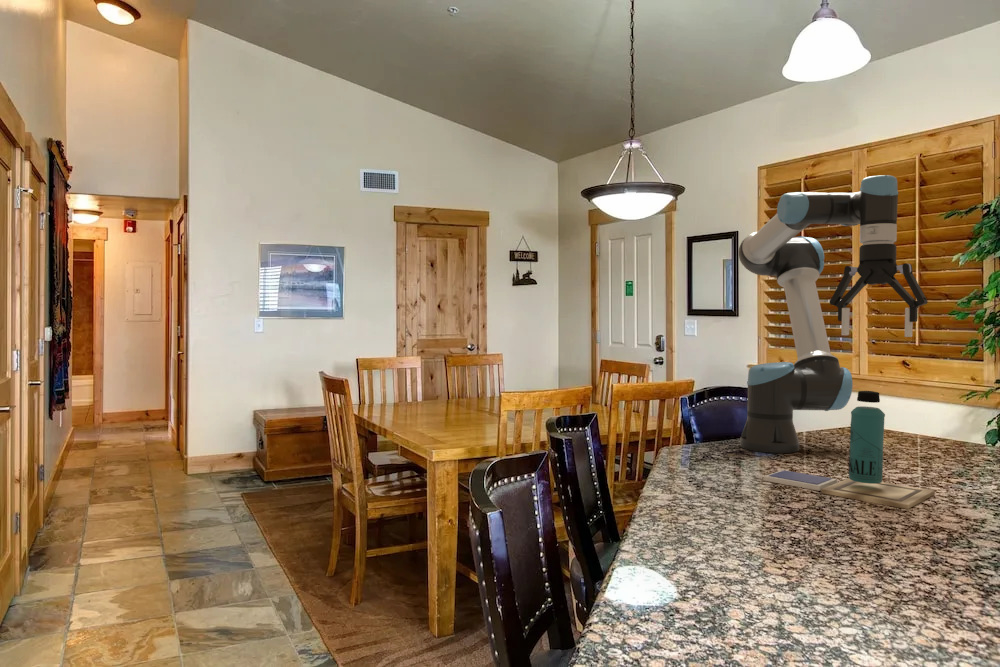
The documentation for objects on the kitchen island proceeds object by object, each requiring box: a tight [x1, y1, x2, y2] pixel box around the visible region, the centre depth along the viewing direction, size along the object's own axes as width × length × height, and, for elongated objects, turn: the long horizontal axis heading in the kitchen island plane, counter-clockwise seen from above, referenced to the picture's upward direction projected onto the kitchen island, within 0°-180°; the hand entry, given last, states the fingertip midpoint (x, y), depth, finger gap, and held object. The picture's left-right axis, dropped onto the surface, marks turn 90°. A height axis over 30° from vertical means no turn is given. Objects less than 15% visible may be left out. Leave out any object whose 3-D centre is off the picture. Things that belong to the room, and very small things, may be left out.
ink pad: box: [763, 469, 838, 492], centre depth 152 cm, size 12×9×1 cm
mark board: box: [820, 477, 935, 510], centre depth 143 cm, size 16×16×1 cm
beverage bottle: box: [847, 390, 886, 484], centre depth 144 cm, size 6×7×20 cm
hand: (875, 336), depth 162 cm, fingers open, 13 cm apart
